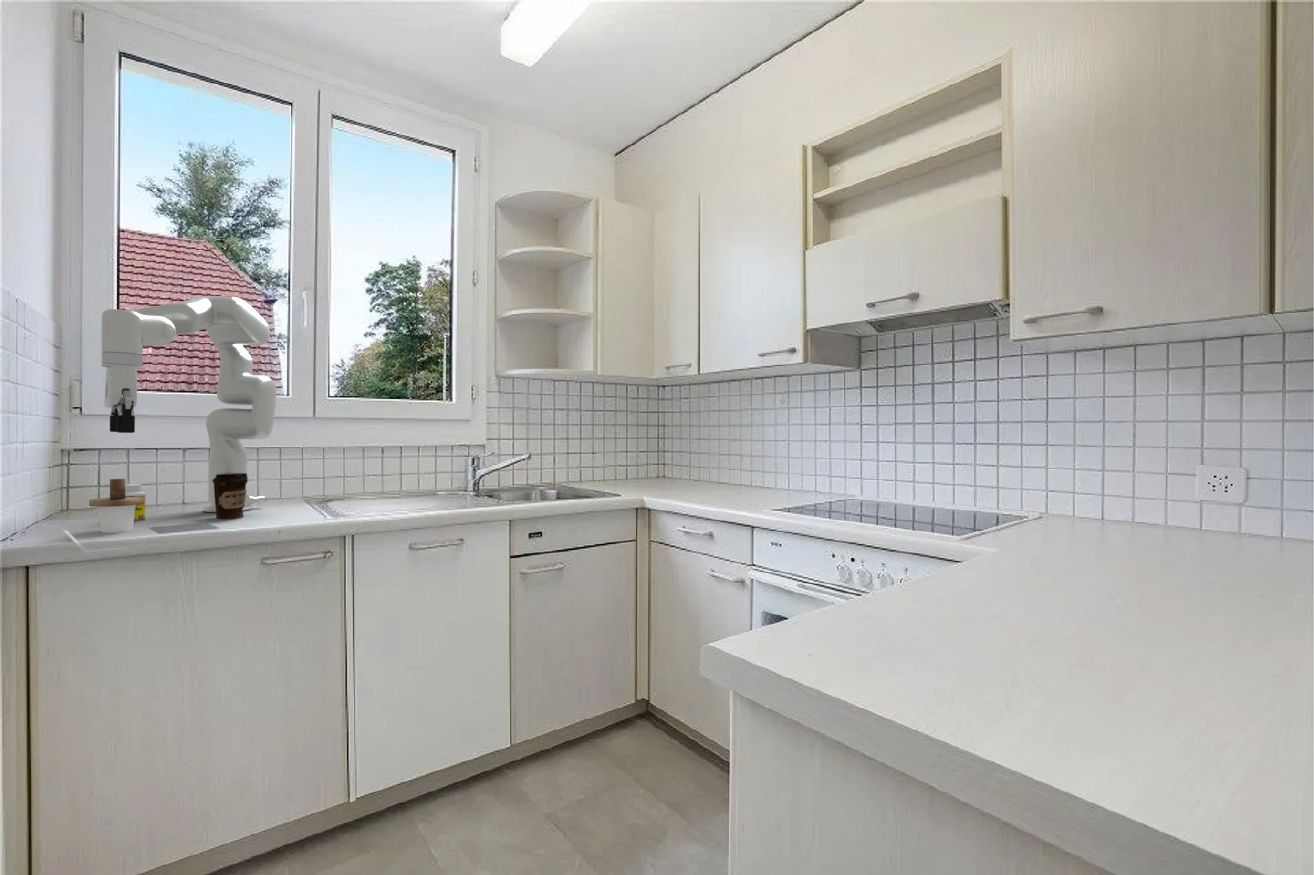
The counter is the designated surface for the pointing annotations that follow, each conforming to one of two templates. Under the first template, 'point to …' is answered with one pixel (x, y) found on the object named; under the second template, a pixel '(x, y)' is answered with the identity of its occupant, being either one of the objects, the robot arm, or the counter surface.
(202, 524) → the mat
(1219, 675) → the counter surface
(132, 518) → the white cup
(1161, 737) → the counter surface
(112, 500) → the lid
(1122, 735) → the counter surface
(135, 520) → the supplement bottle
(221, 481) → the coffee cup
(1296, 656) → the counter surface
